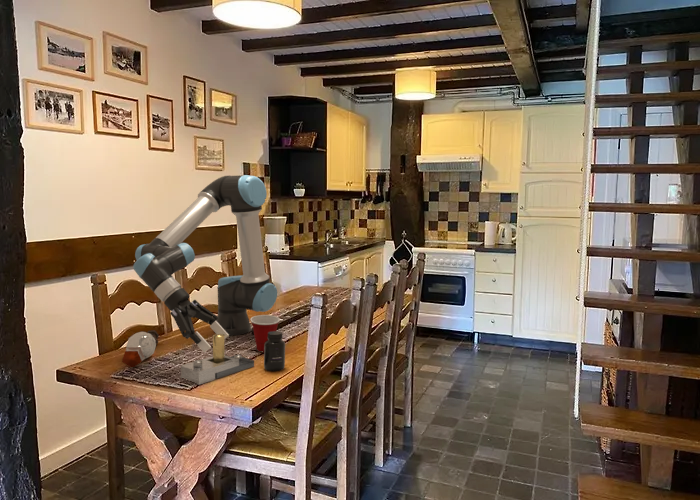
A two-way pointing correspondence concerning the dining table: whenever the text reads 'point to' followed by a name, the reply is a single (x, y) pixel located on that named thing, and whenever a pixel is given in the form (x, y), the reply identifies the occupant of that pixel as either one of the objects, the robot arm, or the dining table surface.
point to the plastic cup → (263, 328)
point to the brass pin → (218, 348)
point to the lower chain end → (243, 365)
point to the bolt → (154, 335)
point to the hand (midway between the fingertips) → (217, 343)
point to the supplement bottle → (274, 352)
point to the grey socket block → (206, 369)
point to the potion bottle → (139, 348)
